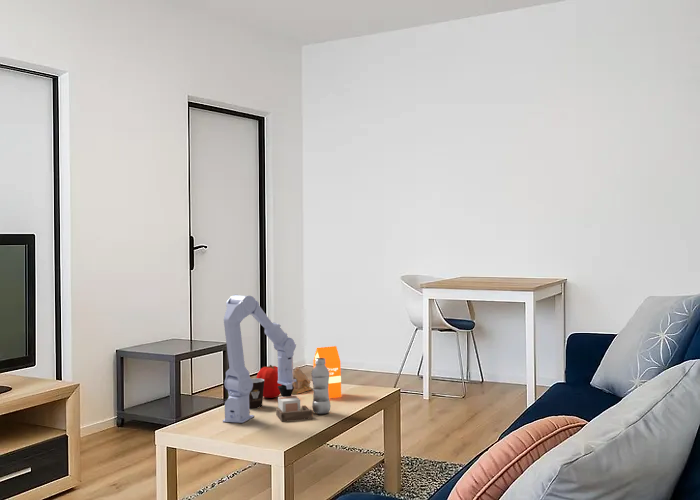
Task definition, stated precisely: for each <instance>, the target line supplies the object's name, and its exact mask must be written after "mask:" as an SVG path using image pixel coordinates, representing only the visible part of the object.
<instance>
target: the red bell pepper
mask: <svg viewBox="0 0 700 500" xmlns="http://www.w3.org/2000/svg"><path fill="white" fill-rule="evenodd" d="M256 378H259V379H264V391H263V398H265V399H273V398H276V397H277V398H278V397H280V396H281V393H280V391H279V389H278V386H282V384H279V383H278V366H277V365H276V366H275V365H272V364H269V366H263V365H262V367H261V368H260V369H259V370H258V373H257V375H256Z"/></svg>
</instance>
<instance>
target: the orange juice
mask: <svg viewBox="0 0 700 500" xmlns="http://www.w3.org/2000/svg"><path fill="white" fill-rule="evenodd" d="M316 358H325V362H326V364H325V366H326V367H327V369H328V370H329V383H328V393H329V399H338V398H342V373H341V371H342V370H341V369H342V368H341V365H342V363H341V359H340V354H339V352H338V348H337V346H336V345H334V346H333V345H332V346H322V347H316V351H315V354H314V357H313V360H312V364H313V366H312V367H313V368H314V367H315V366H316V364H315V359H316Z"/></svg>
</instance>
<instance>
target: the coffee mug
mask: <svg viewBox="0 0 700 500" xmlns="http://www.w3.org/2000/svg"><path fill="white" fill-rule="evenodd" d="M251 379H252V381H253V388H252V390H251V392H250V394H249V410H250V409H253V410H255V409H260V408H262V407H263V401H264V400H263V399H264V397H263V391H264V379H259V378H255V377H253V378H252V377H251Z"/></svg>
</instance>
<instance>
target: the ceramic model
mask: <svg viewBox="0 0 700 500" xmlns="http://www.w3.org/2000/svg"><path fill="white" fill-rule="evenodd" d="M293 379H296V382H294V383H293V384H292V385H293V387H294V389H293V391H292V394H291V395H295V394H296V395H297V394H302V393H304V392H309V391H311V390H313V387H311V380H310V379H309V378H308V375H306V374H305V373H304V372H303V370H301V369H300V367H298V366H296V367H295V368H294V369H293Z"/></svg>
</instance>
